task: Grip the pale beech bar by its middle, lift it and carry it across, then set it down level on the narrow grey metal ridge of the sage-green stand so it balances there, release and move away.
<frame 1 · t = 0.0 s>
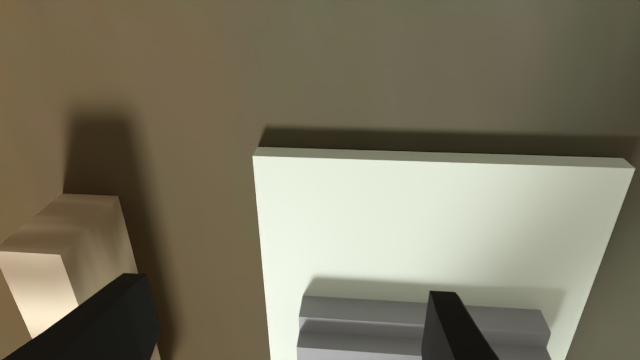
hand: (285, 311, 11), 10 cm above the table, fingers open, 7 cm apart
beech rod: (122, 295, 26), on the table
fulcrum stand: (413, 316, 24), on the table
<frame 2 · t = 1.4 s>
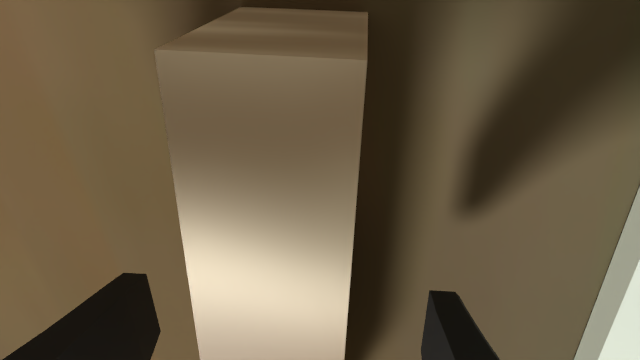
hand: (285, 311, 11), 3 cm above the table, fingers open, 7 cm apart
beech rod: (302, 246, 14), on the table
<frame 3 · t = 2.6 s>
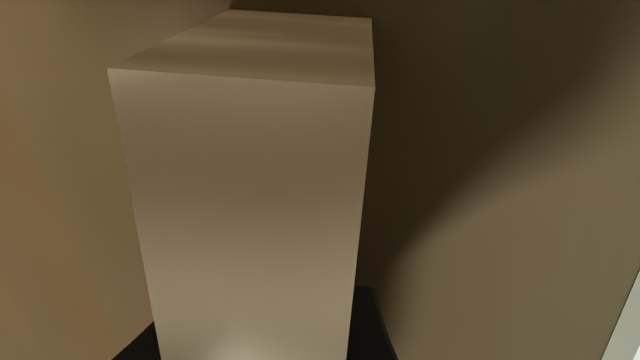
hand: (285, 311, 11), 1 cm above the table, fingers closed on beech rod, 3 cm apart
beech rod: (294, 273, 13), on the table, touching gripper
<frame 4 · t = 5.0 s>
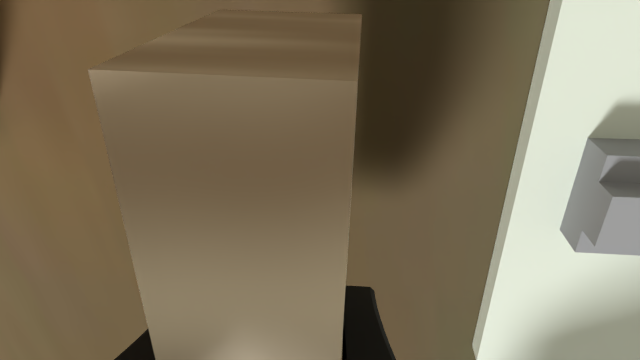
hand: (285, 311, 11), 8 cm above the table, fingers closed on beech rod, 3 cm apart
beech rod: (293, 273, 13), point 7 cm above the table, touching gripper
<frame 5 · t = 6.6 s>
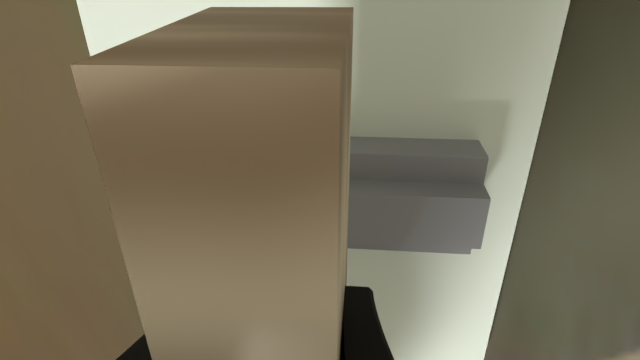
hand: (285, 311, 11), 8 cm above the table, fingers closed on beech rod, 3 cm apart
beech rod: (293, 270, 12), point 7 cm above the table, touching gripper
fulcrum stand: (316, 171, 18), on the table
when the fingers open (6 cm above the table, at t = 7.7 s): beech rod stays where it is, resting on fulcrum stand.
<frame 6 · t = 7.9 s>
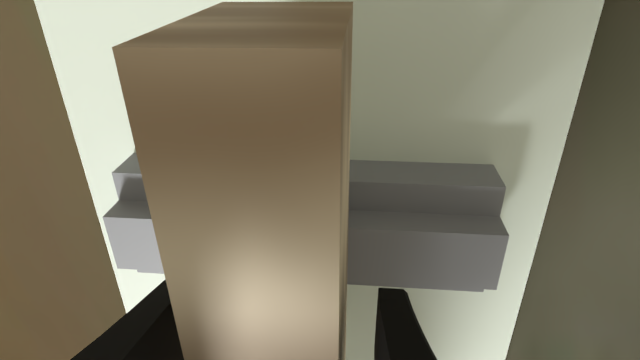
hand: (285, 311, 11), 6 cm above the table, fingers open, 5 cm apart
beech rod: (298, 250, 13), point 3 cm above the table, touching fulcrum stand
fulcrum stand: (311, 195, 16), on the table
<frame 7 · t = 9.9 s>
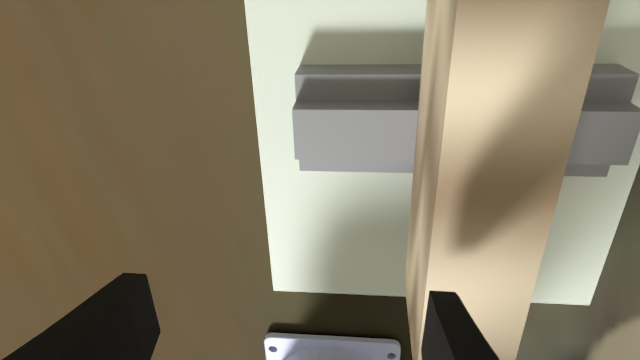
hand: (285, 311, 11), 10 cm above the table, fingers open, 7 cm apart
beech rod: (458, 134, 16), point 3 cm above the table, touching fulcrum stand
fulcrum stand: (444, 105, 19), on the table
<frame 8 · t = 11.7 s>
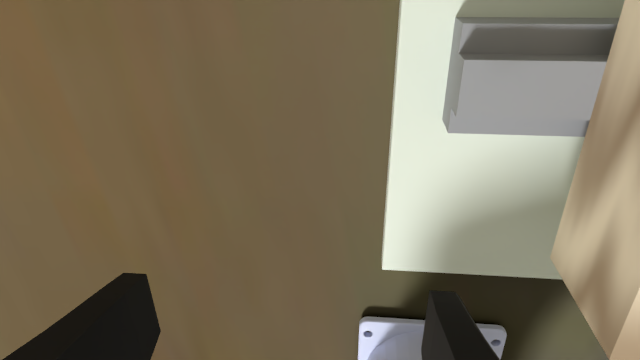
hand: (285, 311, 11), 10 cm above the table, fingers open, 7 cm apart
fulcrum stand: (597, 67, 18), on the table
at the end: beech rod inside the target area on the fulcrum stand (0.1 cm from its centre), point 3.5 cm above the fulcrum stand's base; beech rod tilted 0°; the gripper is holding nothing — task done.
